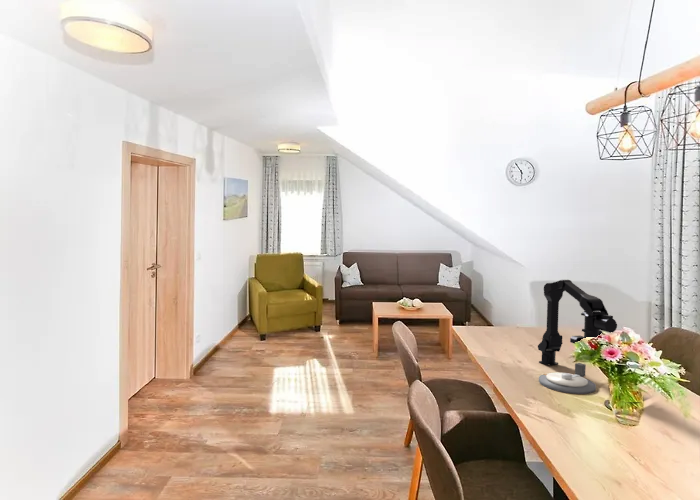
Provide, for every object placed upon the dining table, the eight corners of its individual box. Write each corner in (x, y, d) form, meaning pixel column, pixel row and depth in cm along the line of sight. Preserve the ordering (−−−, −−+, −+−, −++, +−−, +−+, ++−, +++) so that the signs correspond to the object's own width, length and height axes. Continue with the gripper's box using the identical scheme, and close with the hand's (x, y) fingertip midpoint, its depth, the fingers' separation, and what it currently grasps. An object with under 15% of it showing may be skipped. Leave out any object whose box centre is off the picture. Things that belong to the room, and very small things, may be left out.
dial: (573, 389, 176) (573, 375, 175) (538, 378, 189) (538, 365, 189) (600, 381, 186) (600, 368, 186) (564, 371, 199) (565, 359, 199)
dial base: (558, 373, 202) (558, 370, 202) (606, 388, 183) (606, 384, 183) (527, 381, 190) (528, 377, 190) (576, 397, 172) (576, 393, 171)
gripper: (626, 331, 178) (624, 369, 179) (590, 322, 196) (589, 356, 197) (603, 332, 176) (602, 370, 176) (569, 323, 194) (568, 358, 194)
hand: (590, 363), depth 186 cm, fingers closed
